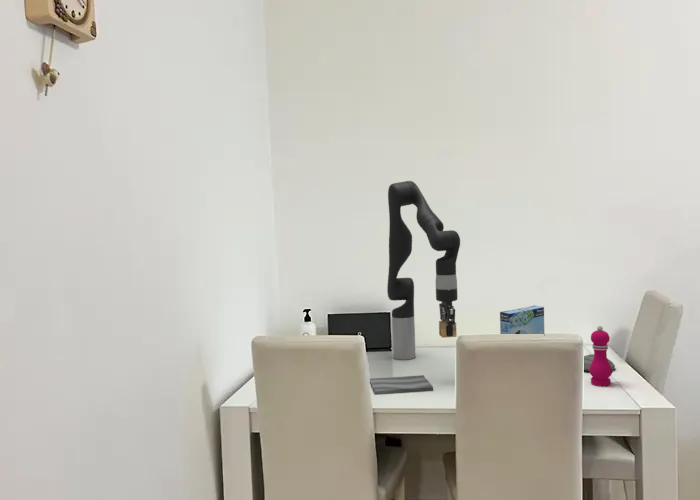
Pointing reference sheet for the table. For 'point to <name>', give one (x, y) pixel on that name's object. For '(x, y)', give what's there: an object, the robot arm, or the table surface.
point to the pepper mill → (600, 359)
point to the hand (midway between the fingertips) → (447, 334)
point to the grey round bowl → (588, 361)
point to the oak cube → (443, 329)
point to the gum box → (522, 321)
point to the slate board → (400, 384)
